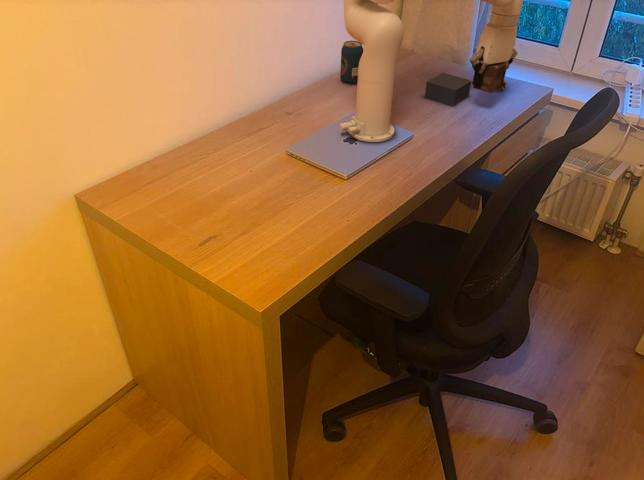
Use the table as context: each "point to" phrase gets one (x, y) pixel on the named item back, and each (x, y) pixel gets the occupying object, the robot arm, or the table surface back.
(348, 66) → the soda can
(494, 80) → the box
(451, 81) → the block
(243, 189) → the table surface
